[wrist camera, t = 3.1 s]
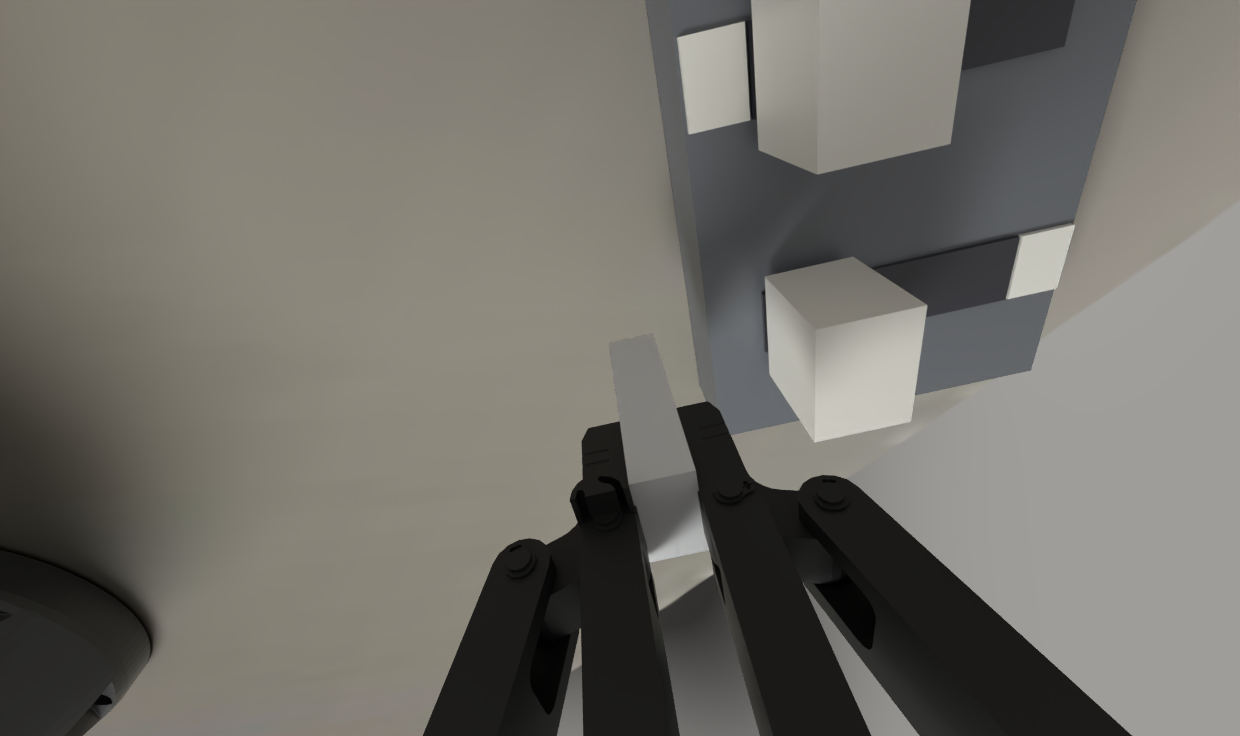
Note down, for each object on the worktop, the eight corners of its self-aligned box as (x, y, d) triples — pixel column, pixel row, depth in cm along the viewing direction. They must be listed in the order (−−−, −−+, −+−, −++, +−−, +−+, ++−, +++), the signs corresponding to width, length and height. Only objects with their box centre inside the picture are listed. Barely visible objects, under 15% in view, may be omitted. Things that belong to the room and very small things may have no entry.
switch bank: (699, 385, 24) (722, 440, 20) (560, -602, 10) (555, -953, 7) (964, 327, 24) (1034, 372, 20) (1174, -776, 10) (1506, -1238, 7)
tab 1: (758, 150, 14) (817, 174, 11) (750, -19, 12) (819, -54, 9) (859, 126, 14) (950, 144, 11) (868, -48, 12) (984, -94, 9)
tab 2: (769, 374, 19) (814, 442, 15) (764, 276, 17) (815, 329, 13) (847, 357, 19) (910, 421, 15) (853, 256, 16) (927, 304, 13)
